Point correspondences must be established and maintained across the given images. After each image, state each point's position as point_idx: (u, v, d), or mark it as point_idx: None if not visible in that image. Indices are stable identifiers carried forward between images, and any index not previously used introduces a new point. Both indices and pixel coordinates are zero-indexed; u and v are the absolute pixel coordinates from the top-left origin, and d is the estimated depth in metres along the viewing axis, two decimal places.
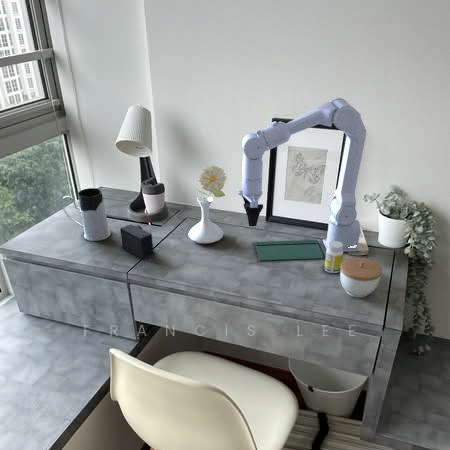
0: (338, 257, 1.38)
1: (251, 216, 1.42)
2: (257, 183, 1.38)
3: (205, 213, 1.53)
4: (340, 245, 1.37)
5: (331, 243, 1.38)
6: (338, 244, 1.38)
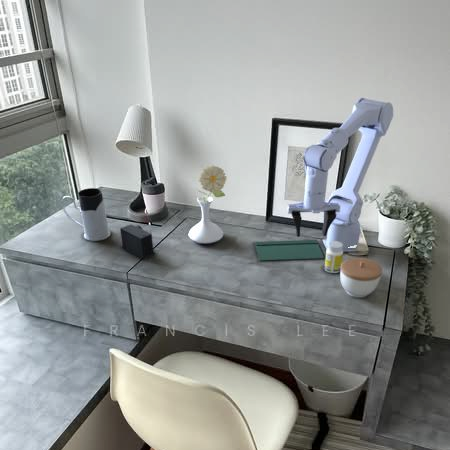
0: (338, 257, 1.38)
1: None
2: None
3: (205, 213, 1.53)
4: (340, 245, 1.37)
5: (331, 243, 1.38)
6: (338, 244, 1.38)
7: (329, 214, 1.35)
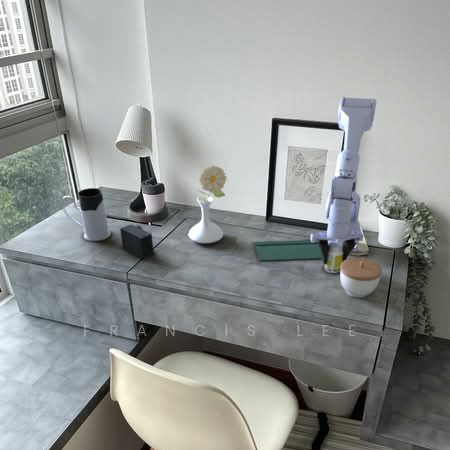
0: (338, 257, 1.38)
1: None
2: None
3: (205, 213, 1.53)
4: (340, 245, 1.37)
5: (331, 243, 1.38)
6: (338, 244, 1.38)
7: (348, 243, 1.36)
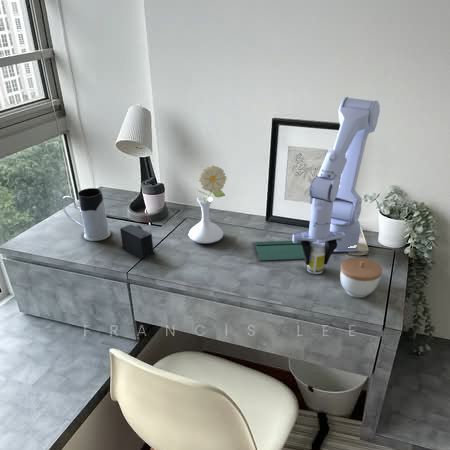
0: (320, 257, 1.38)
1: None
2: None
3: (205, 213, 1.53)
4: (322, 246, 1.37)
5: (313, 244, 1.38)
6: (320, 245, 1.37)
7: (330, 243, 1.36)
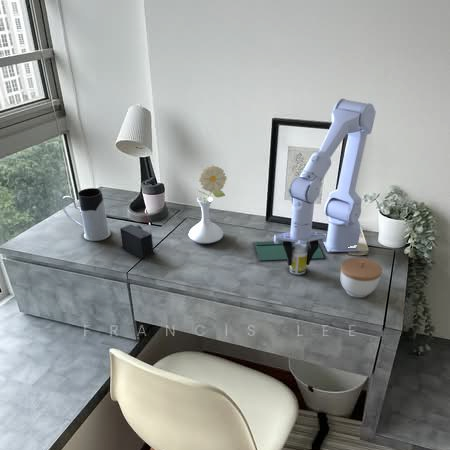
0: (302, 258, 1.37)
1: None
2: None
3: (205, 213, 1.53)
4: (304, 246, 1.37)
5: (295, 244, 1.38)
6: (302, 246, 1.37)
7: (312, 244, 1.35)
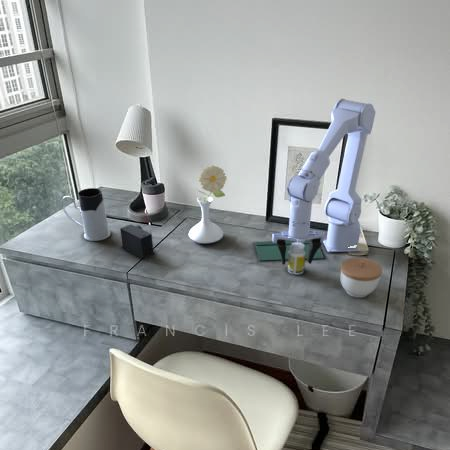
0: (300, 258, 1.37)
1: None
2: None
3: (205, 213, 1.53)
4: (302, 246, 1.37)
5: (293, 244, 1.38)
6: (300, 246, 1.37)
7: (314, 243, 1.35)
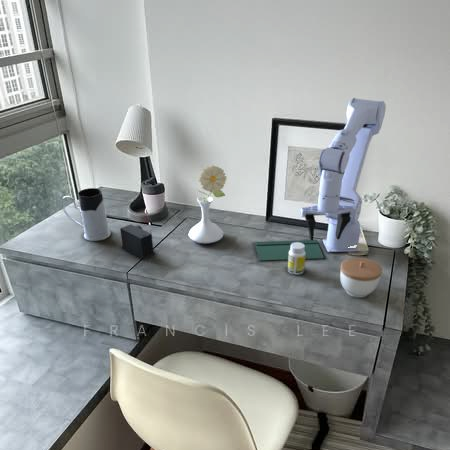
0: (300, 258, 1.37)
1: None
2: None
3: (205, 213, 1.53)
4: (302, 246, 1.37)
5: (293, 244, 1.38)
6: (300, 246, 1.37)
7: (343, 217, 1.34)
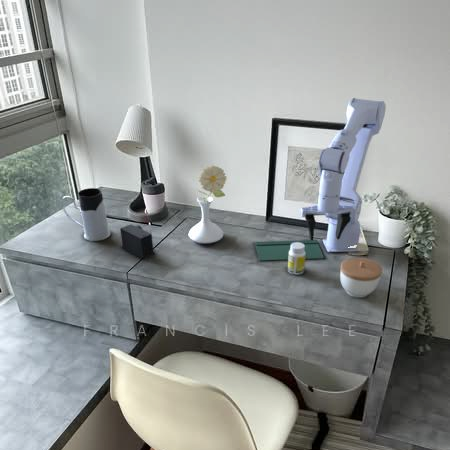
0: (300, 258, 1.37)
1: None
2: None
3: (205, 213, 1.53)
4: (302, 246, 1.37)
5: (293, 244, 1.38)
6: (300, 246, 1.37)
7: (343, 217, 1.34)
